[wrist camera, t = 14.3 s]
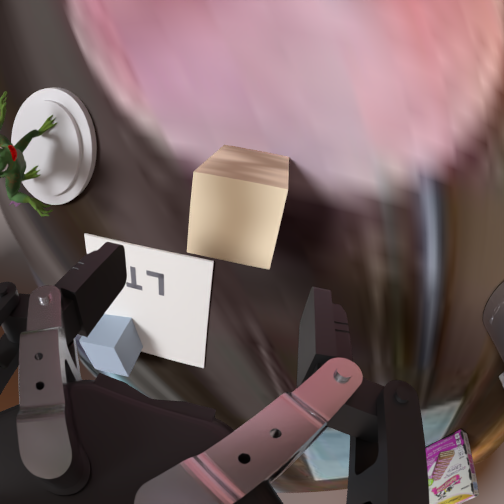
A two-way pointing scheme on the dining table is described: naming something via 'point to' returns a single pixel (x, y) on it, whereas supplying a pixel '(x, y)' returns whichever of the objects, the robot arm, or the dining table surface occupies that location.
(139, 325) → the white mat
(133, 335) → the slate cube
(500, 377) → the coffee box
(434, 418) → the dining table surface
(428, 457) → the candy bar box
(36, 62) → the dining table surface
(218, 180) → the birch block
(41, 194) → the monster figurine
